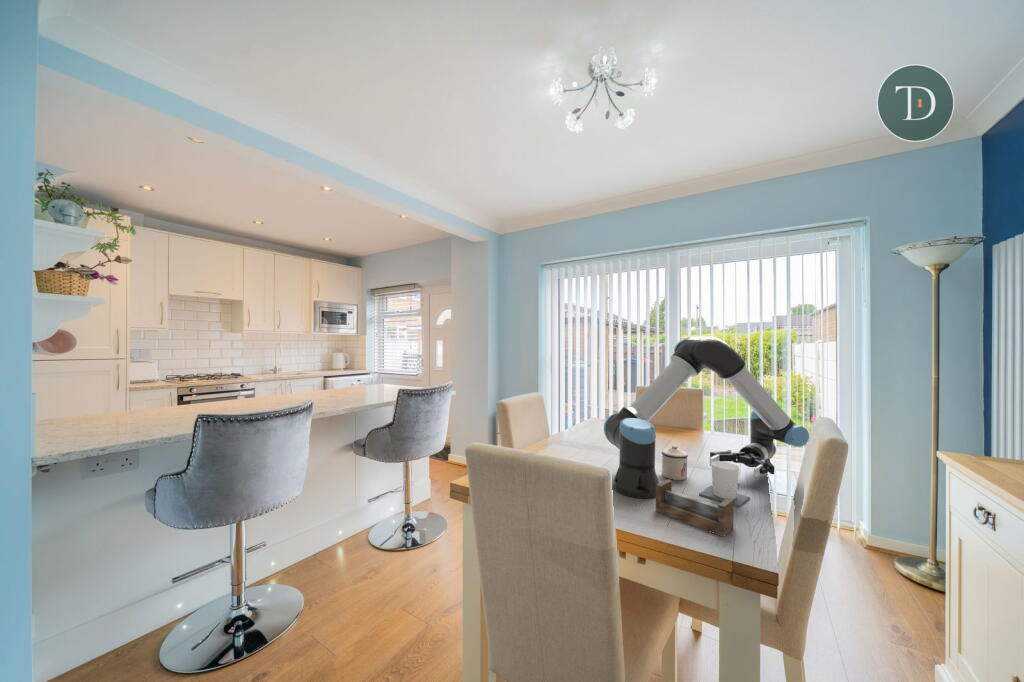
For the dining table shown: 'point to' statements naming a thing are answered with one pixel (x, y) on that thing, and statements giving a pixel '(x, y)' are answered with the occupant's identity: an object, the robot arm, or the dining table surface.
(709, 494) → the slate mat
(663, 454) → the teacup with lid
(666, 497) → the offcut rack
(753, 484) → the dining table surface
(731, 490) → the white cup
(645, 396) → the robot arm
